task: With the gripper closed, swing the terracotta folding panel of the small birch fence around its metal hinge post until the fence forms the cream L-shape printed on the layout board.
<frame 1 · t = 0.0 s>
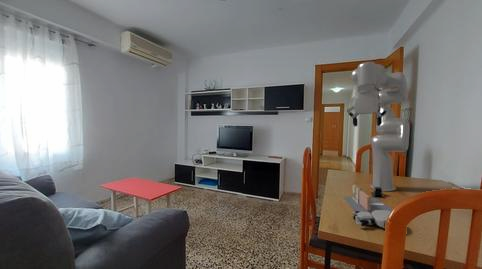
hand: (366, 126, 97), 37 cm above the table, tool pointing down, fingers open, 9 cm apart
layout board: (367, 205, 97), on the table
black block: (377, 196, 110), on the table
fixed fence panel: (359, 204, 98), resting on layout board
folding fence panel: (364, 200, 93), point 4 cm above the table, hinge at 0.0°
robot toy: (375, 225, 78), on the table
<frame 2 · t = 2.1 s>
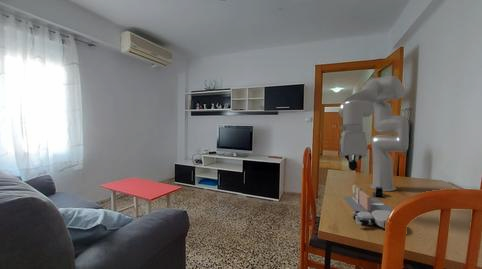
hand: (352, 170, 91), 18 cm above the table, tool pointing down, fingers closed
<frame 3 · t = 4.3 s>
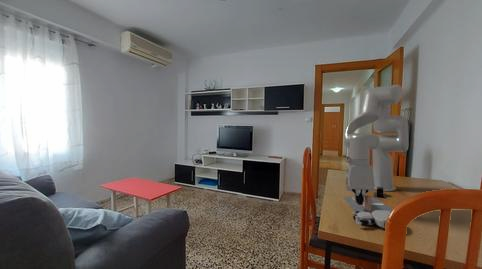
hand: (359, 203, 91), 3 cm above the table, tool pointing down, fingers closed
folding fence panel: (364, 200, 93), point 4 cm above the table, hinge at 1.1°, touching gripper
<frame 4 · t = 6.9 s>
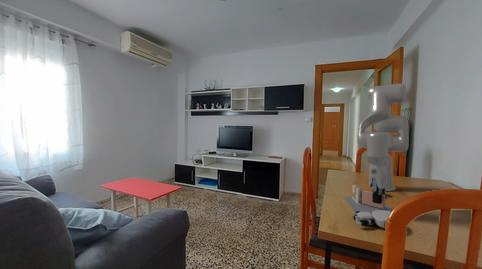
hand: (377, 202, 90), 4 cm above the table, tool pointing down, fingers closed
folding fence panel: (373, 199, 94), point 4 cm above the table, hinge at 49.7°, touching gripper
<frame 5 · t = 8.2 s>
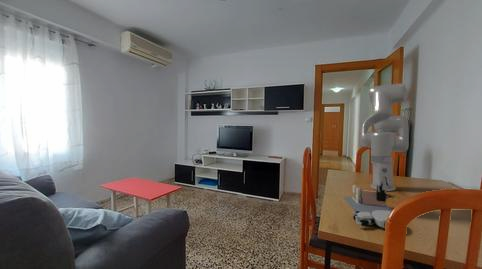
hand: (381, 200, 92), 4 cm above the table, tool pointing down, fingers closed
folding fence panel: (373, 197, 95), point 4 cm above the table, hinge at 73.3°, touching gripper
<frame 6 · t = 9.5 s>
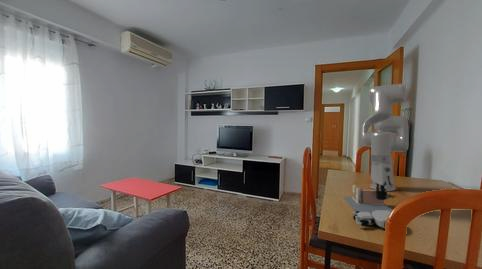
hand: (380, 199, 94), 4 cm above the table, tool pointing down, fingers closed
folding fence panel: (372, 196, 97), point 4 cm above the table, hinge at 91.9°, touching gripper
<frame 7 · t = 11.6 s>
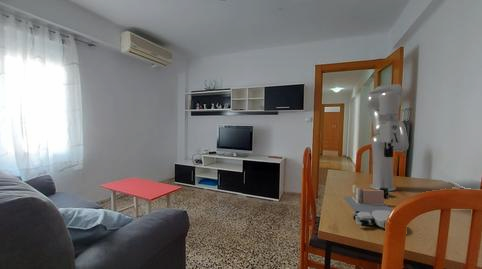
hand: (388, 156, 98), 22 cm above the table, tool pointing down, fingers closed
folding fence panel: (372, 196, 97), point 4 cm above the table, hinge at 92.0°
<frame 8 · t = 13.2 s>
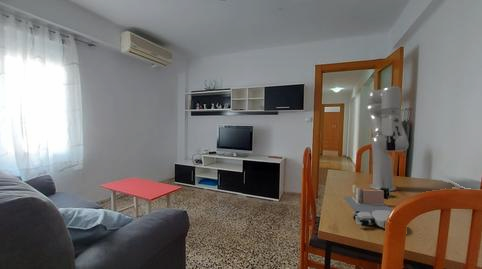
hand: (390, 150, 100), 25 cm above the table, tool pointing down, fingers closed
at the end: folding fence panel at +92° (first picture: +0°) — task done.
